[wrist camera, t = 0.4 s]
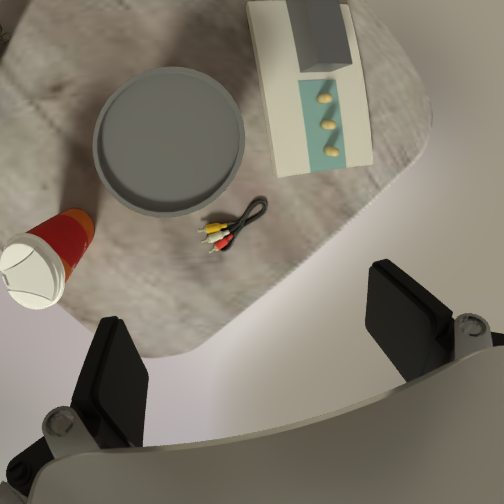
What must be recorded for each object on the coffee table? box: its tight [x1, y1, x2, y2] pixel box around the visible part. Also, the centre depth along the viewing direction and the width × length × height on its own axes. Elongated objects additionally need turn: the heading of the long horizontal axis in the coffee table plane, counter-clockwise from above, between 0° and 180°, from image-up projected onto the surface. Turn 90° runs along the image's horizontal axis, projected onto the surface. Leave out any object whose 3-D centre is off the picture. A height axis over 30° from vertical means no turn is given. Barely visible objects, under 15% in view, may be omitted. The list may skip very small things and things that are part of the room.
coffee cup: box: [0, 208, 94, 309], centre depth 29 cm, size 8×8×15 cm
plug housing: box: [286, 0, 353, 73], centre depth 26 cm, size 11×4×6 cm, turn 9°
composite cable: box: [198, 199, 267, 253], centre depth 39 cm, size 10×5×2 cm, turn 114°
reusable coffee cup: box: [93, 67, 245, 218], centre depth 27 cm, size 13×13×15 cm
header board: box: [245, 1, 373, 178], centre depth 31 cm, size 24×14×5 cm, turn 9°
